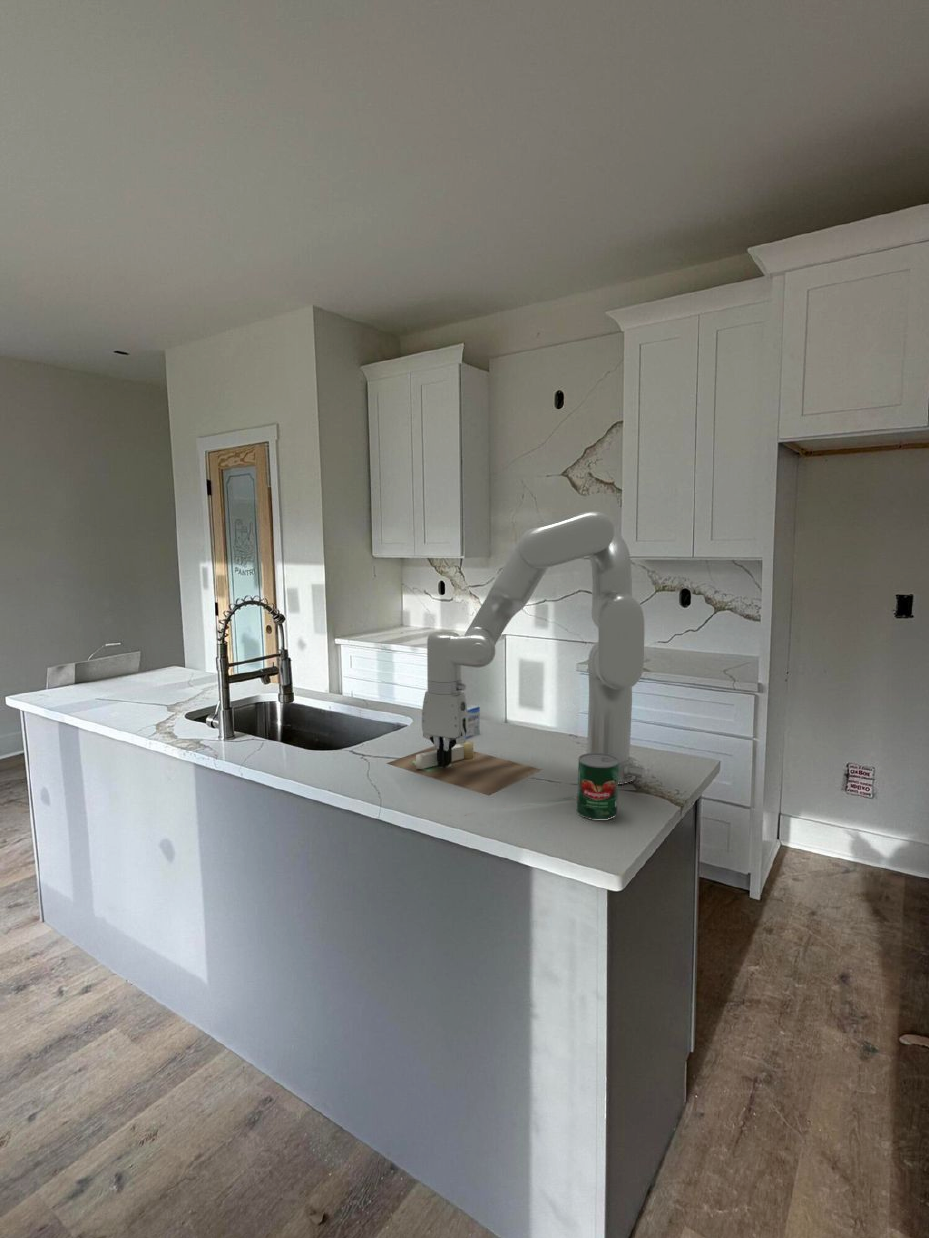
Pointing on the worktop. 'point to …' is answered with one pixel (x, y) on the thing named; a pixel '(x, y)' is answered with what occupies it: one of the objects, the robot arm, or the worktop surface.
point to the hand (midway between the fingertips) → (444, 765)
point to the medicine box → (473, 720)
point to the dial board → (472, 771)
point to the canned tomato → (597, 785)
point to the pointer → (457, 753)
